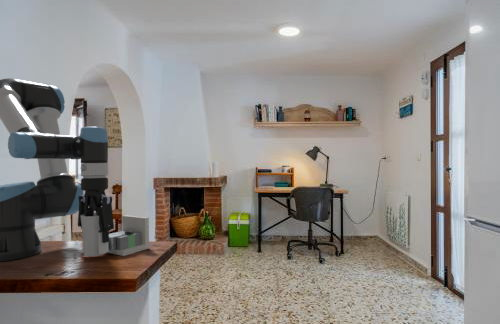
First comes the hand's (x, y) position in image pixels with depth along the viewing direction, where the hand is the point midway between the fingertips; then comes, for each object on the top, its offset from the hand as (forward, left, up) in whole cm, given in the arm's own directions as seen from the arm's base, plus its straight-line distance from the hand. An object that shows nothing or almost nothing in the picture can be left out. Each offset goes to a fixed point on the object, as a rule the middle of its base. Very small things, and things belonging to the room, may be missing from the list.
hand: (95, 251), depth 95 cm
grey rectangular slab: (+1, +8, 0) cm, 8 cm away
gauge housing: (0, +11, -2) cm, 11 cm away
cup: (0, 0, -1) cm, 1 cm away
